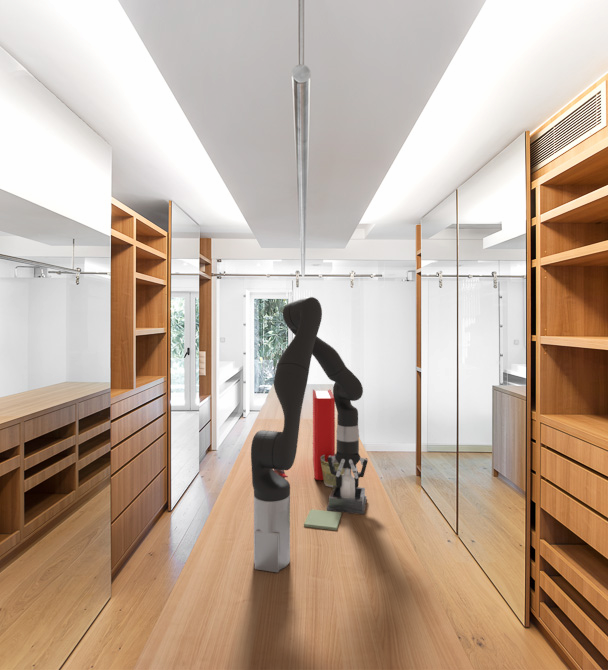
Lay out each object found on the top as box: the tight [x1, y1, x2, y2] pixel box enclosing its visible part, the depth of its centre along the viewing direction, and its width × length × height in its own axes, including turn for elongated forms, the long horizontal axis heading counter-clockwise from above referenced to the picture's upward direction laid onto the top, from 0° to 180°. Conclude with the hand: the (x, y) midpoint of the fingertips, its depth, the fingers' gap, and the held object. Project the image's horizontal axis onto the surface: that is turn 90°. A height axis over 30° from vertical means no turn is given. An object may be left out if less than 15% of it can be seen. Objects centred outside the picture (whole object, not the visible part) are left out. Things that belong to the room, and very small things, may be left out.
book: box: [312, 389, 336, 481], centre depth 167 cm, size 27×8×32 cm, turn 0°
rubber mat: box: [303, 508, 342, 531], centre depth 122 cm, size 10×10×1 cm
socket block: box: [326, 485, 368, 515], centre depth 133 cm, size 12×12×4 cm
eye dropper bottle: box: [340, 468, 355, 499], centre depth 133 cm, size 4×6×12 cm
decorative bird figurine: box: [273, 469, 289, 479], centre depth 150 cm, size 3×18×10 cm, turn 21°
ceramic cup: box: [320, 453, 344, 488], centre depth 151 cm, size 13×10×10 cm
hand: (347, 487), depth 133 cm, fingers closed on eye dropper bottle, 4 cm apart
